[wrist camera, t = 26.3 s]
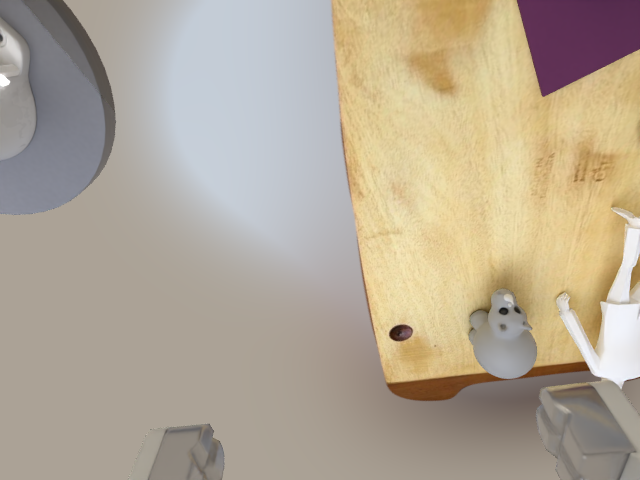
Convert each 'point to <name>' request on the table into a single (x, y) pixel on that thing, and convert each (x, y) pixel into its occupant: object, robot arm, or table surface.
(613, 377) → the male figurine
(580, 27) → the cloth
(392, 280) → the table surface
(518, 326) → the toy rhinoceros
